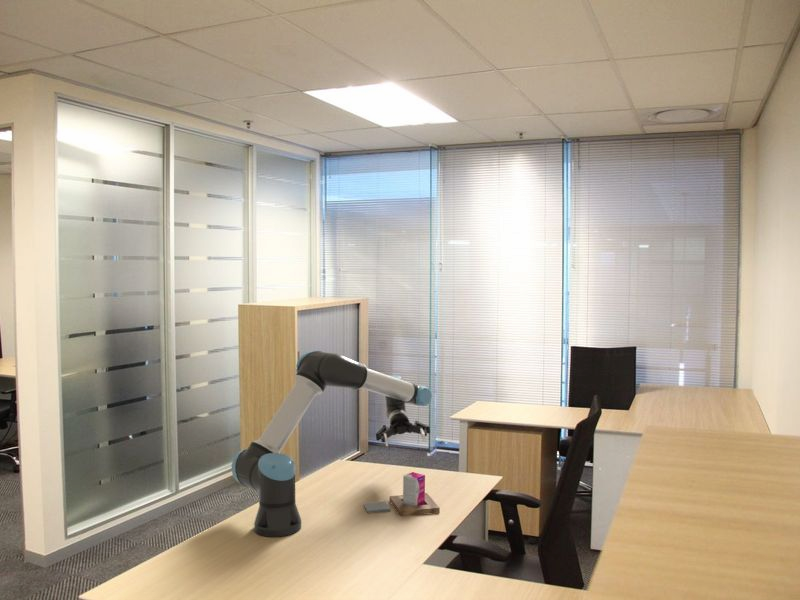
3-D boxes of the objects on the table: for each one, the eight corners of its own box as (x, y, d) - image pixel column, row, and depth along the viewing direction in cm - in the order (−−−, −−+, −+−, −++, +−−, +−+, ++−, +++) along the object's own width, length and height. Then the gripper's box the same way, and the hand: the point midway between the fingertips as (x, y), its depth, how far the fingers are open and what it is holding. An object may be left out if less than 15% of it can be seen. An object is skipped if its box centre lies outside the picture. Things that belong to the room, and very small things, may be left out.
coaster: (367, 513, 240) (367, 510, 240) (363, 505, 248) (363, 503, 248) (390, 511, 242) (390, 508, 242) (385, 503, 250) (385, 501, 250)
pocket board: (400, 516, 237) (400, 511, 237) (389, 501, 252) (389, 496, 252) (439, 512, 240) (439, 507, 240) (426, 497, 256) (426, 492, 255)
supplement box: (416, 511, 242) (415, 478, 241) (402, 507, 246) (402, 475, 245) (425, 506, 247) (425, 474, 246) (412, 502, 250) (411, 471, 250)
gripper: (431, 426, 273) (440, 445, 253) (368, 435, 271) (372, 455, 250) (429, 408, 272) (438, 425, 251) (366, 417, 270) (369, 435, 249)
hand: (405, 440), depth 251 cm, fingers open, 13 cm apart
